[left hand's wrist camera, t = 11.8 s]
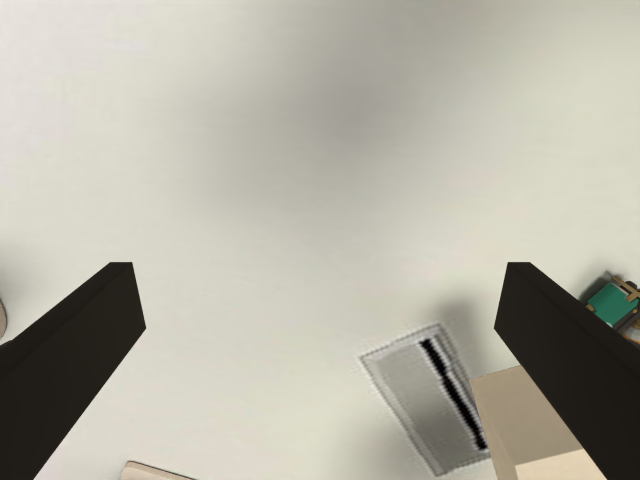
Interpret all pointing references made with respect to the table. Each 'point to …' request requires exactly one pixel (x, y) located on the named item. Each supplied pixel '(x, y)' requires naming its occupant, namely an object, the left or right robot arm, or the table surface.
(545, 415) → the box
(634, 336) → the spray gun
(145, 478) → the tablet stand
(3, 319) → the bust sculpture
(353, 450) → the table surface
